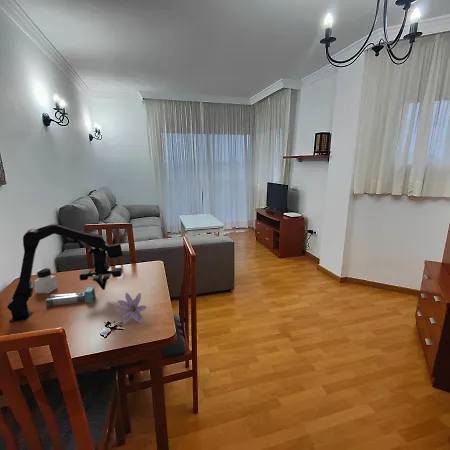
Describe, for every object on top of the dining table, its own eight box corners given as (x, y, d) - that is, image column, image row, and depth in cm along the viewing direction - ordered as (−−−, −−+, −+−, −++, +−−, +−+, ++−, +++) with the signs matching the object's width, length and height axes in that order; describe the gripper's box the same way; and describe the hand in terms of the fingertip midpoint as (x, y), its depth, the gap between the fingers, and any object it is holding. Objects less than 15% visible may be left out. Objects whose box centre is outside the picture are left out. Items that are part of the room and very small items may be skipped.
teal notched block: (95, 295, 132) (94, 286, 131) (92, 301, 126) (90, 291, 125) (89, 296, 131) (87, 287, 130) (85, 302, 126) (84, 292, 125)
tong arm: (78, 298, 130) (77, 292, 129) (76, 300, 128) (75, 294, 127) (52, 299, 129) (51, 294, 128) (50, 302, 126) (49, 296, 126)
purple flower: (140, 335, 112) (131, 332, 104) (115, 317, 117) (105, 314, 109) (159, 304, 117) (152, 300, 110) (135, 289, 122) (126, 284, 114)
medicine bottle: (58, 287, 142) (54, 267, 140) (48, 293, 135) (44, 272, 133) (46, 287, 143) (42, 266, 140) (35, 293, 136) (31, 272, 133)
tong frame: (86, 298, 130) (85, 292, 129) (83, 302, 126) (82, 296, 125) (50, 302, 127) (49, 296, 126) (46, 306, 123) (45, 300, 122)
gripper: (122, 253, 135) (125, 280, 139) (84, 256, 131) (88, 284, 135) (119, 260, 125) (122, 290, 128) (77, 264, 121) (81, 294, 124)
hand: (103, 289), depth 129 cm, fingers closed
